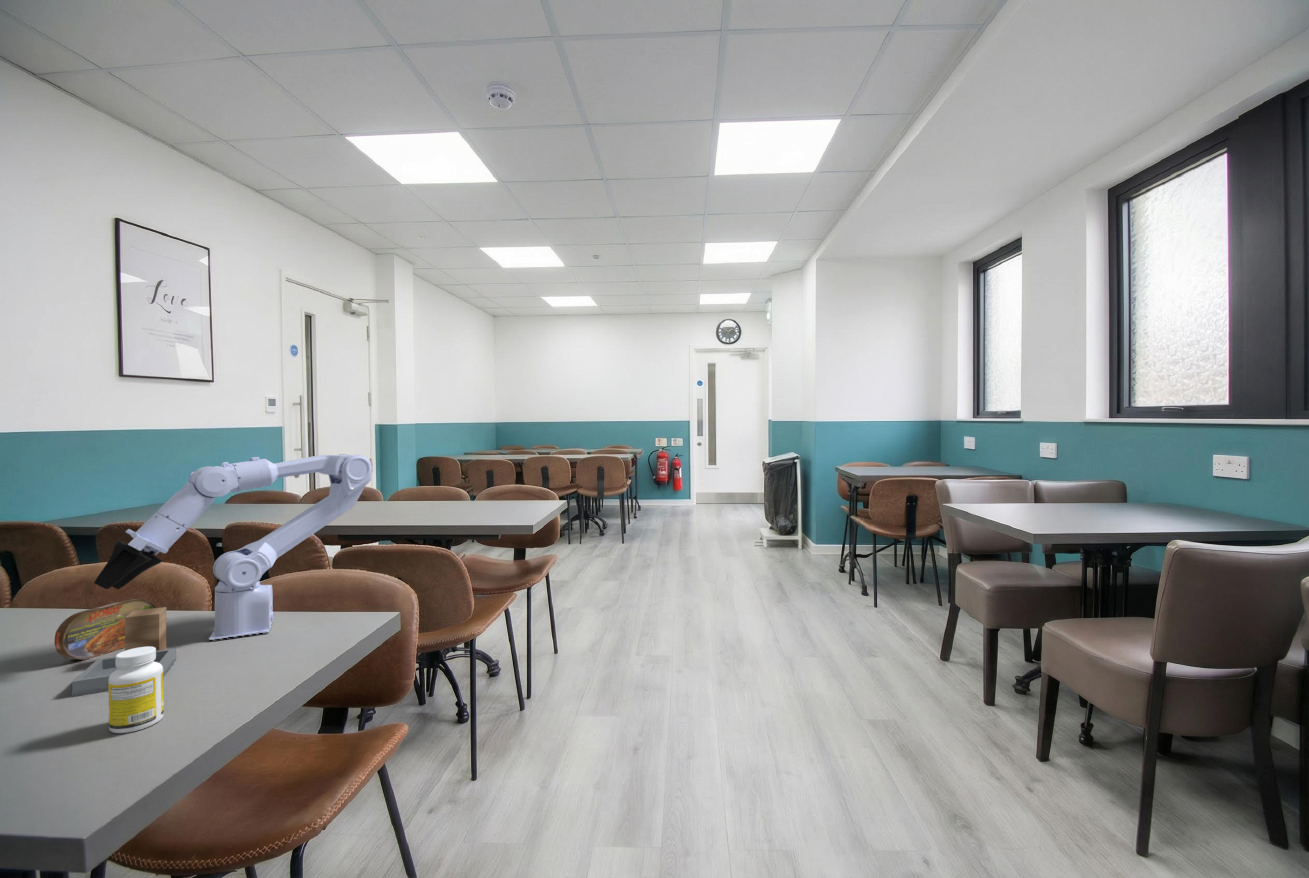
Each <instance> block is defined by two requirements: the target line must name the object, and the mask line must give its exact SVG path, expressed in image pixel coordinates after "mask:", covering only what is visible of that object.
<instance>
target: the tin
mask: <svg viewBox="0 0 1309 878" xmlns="http://www.w3.org/2000/svg"><path fill="white" fill-rule="evenodd" d="M154 608H157V607H156V605H155V604H154V603H153V602H152V601H150V600H148V599H146V598H134V599H133V598H132V599H124V600H121V601H117V602H113V603H109V604H105V605H102V606H98V607H93V608H89V609H86V610H83V611H78V612H76V613H73V614H71V615H70V616H68V617H67V618H66V619H65V620H64V621H62V622H61V624H60V625H59V626H58V627H57V629H56V632H55V635H54V646H55V649H56V652H57V653H58V654H59V655H61V657H64V658H66V659H70V660H80V661H81V660H82V661H83V660H84V661H85V660H91V658H92V659H95V658H97V656H98V657H101V656H102V655H101V654H104V655H106V654H105V653H107V654H109V653H108V652H110V653H112V652H111V651H113V652H115V650H116V651H118V649H119V650H121V648H122V649H125V648H124V647H125V617H126V616H128V615H129V614H130V613H131V612H133V611H136V610H145V609H154ZM100 655H101V656H100ZM94 657H95V658H94Z"/></svg>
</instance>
